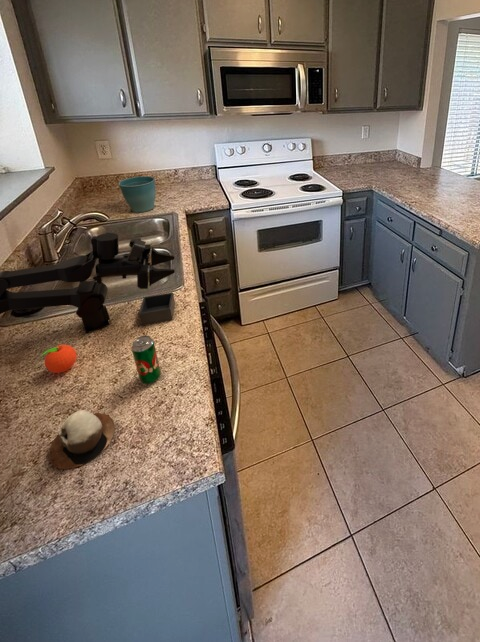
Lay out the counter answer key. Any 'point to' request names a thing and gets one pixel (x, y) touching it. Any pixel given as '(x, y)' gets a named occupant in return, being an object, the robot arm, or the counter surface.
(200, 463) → the counter surface
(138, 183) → the flower pot
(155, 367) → the soda can
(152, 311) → the waste bin
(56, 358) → the clementine
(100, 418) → the hat
